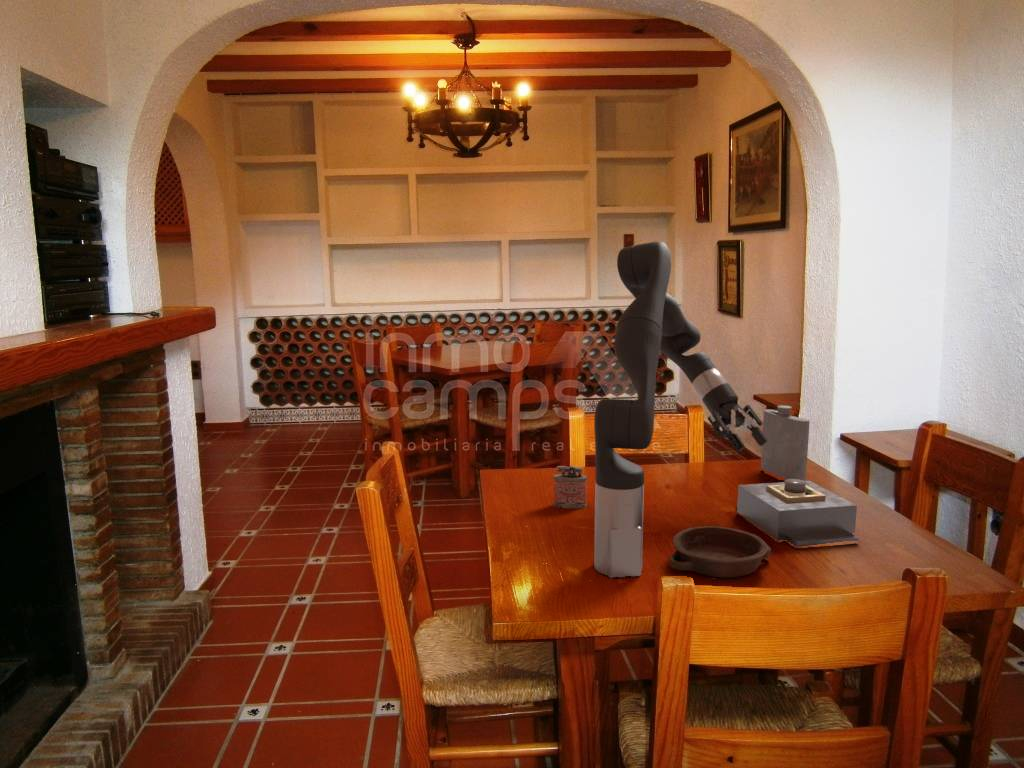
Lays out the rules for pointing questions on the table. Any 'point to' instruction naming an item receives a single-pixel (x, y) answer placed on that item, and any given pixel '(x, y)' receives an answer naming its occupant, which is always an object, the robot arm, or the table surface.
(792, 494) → the salt shaker
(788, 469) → the hip flask
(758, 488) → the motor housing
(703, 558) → the dish
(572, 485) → the lighter
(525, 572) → the table surface
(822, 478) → the table surface
